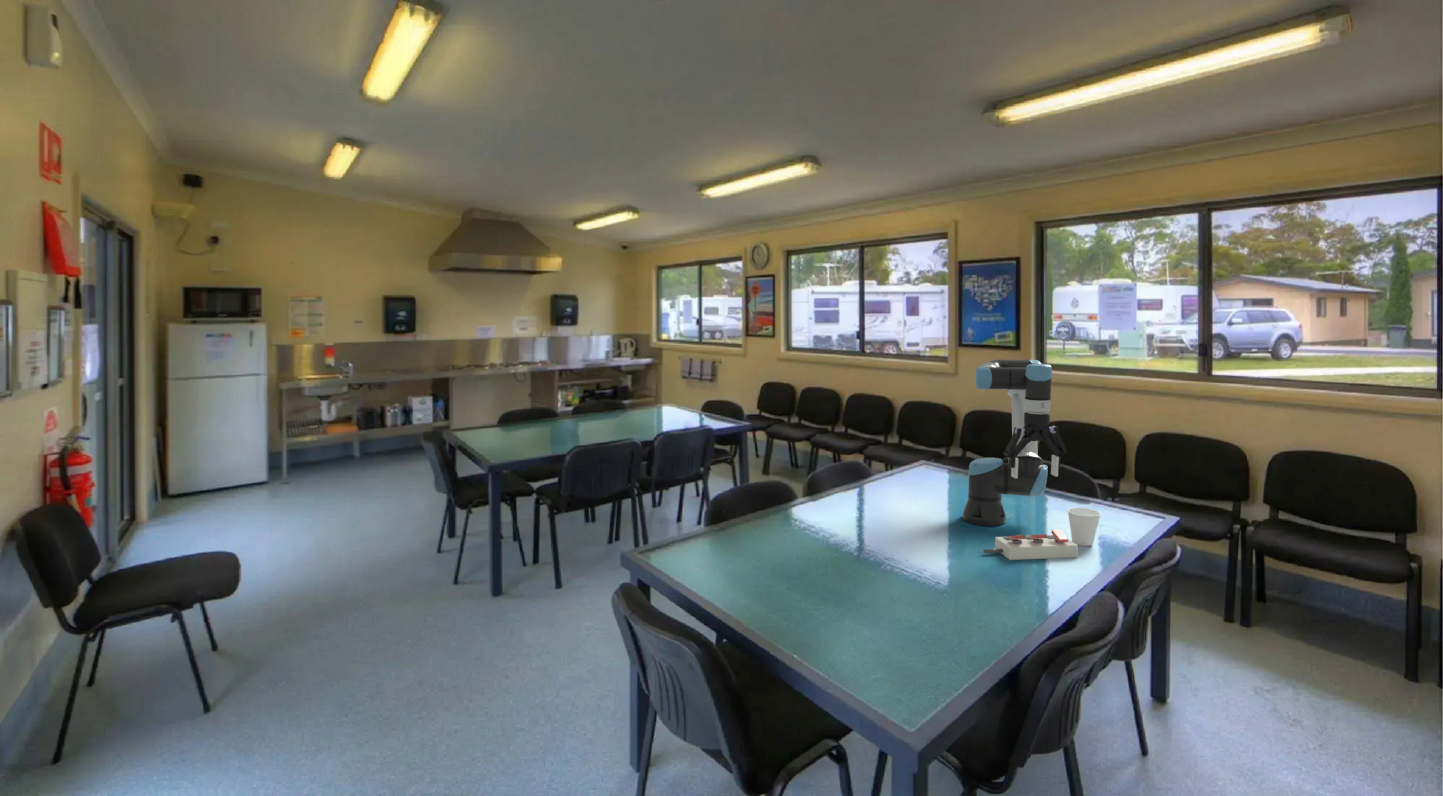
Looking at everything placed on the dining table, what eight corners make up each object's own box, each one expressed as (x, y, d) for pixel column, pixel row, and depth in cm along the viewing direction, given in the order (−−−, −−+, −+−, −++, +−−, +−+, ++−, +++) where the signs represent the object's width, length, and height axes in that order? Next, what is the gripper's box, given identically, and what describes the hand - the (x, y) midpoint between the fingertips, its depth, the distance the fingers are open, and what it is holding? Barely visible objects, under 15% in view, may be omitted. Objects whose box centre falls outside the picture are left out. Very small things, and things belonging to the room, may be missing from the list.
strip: (977, 549, 214) (977, 534, 213) (1059, 546, 215) (1060, 531, 214) (991, 560, 204) (991, 545, 203) (1077, 557, 205) (1078, 542, 204)
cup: (1104, 549, 211) (1105, 516, 210) (1071, 547, 213) (1072, 515, 212) (1093, 539, 221) (1094, 507, 220) (1061, 537, 223) (1063, 506, 222)
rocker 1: (1009, 539, 209) (1008, 535, 210) (1017, 539, 209) (1017, 535, 210) (1016, 539, 204) (1016, 535, 205) (1025, 539, 204) (1024, 534, 205)
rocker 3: (1051, 532, 210) (1052, 529, 209) (1059, 532, 210) (1060, 529, 210) (1059, 542, 206) (1060, 539, 205) (1067, 542, 206) (1068, 539, 205)
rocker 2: (1030, 538, 210) (1030, 534, 210) (1039, 538, 210) (1038, 534, 210) (1038, 538, 205) (1037, 534, 205) (1047, 538, 205) (1046, 534, 205)
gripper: (1005, 415, 203) (1003, 481, 206) (1081, 412, 205) (1078, 477, 208) (993, 411, 211) (991, 475, 214) (1067, 408, 212) (1064, 471, 215)
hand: (1034, 476), depth 211 cm, fingers open, 13 cm apart
